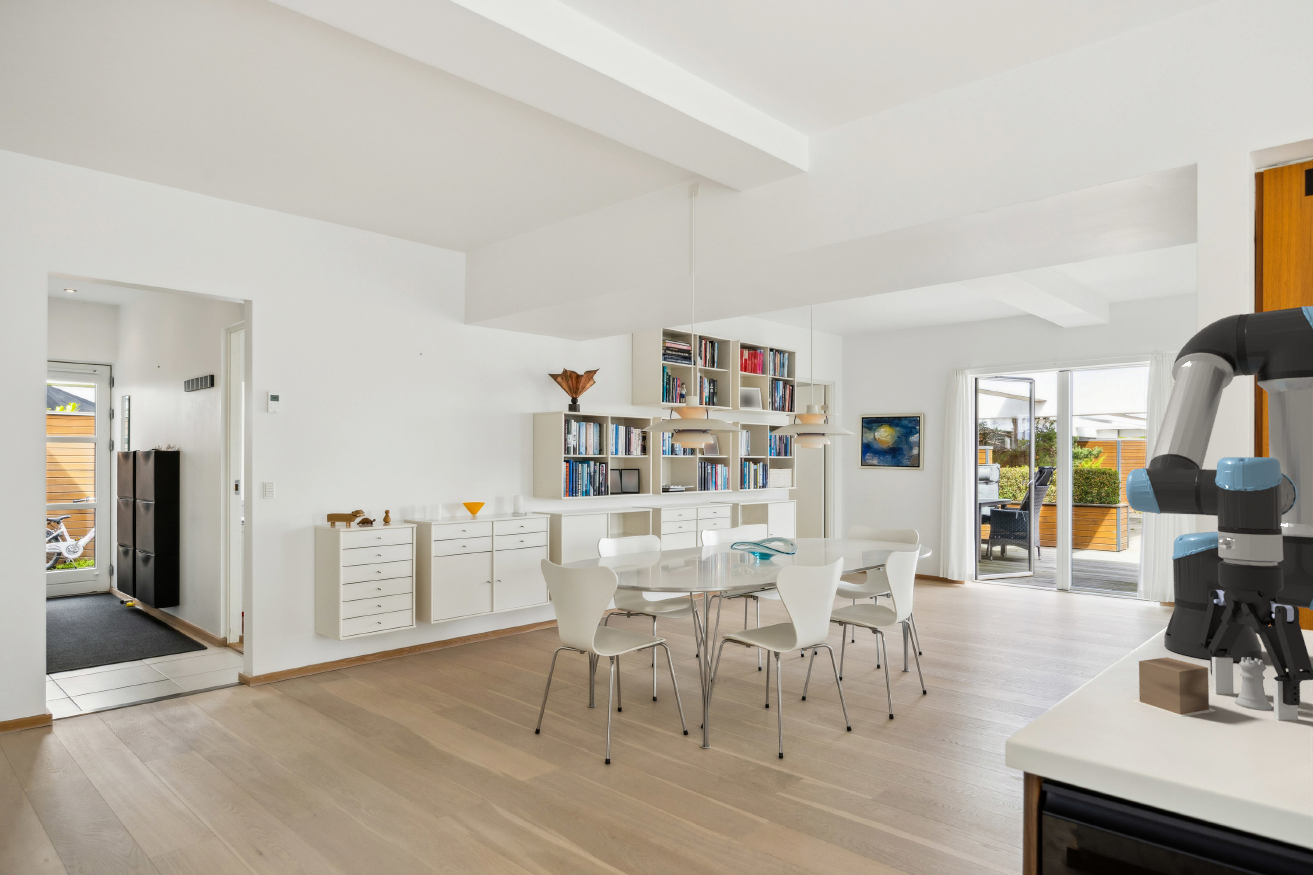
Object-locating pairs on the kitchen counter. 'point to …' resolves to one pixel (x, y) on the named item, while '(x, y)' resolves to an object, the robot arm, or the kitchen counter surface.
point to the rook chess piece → (1252, 685)
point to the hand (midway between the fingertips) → (1252, 712)
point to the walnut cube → (1174, 685)
